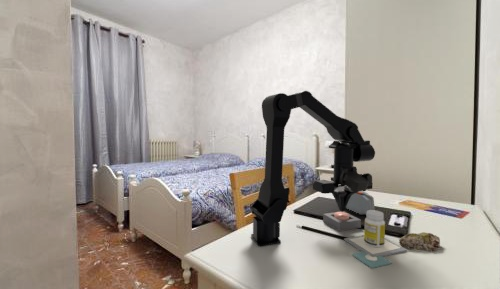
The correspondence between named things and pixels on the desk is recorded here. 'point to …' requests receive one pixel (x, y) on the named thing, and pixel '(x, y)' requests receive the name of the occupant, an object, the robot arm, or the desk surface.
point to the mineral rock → (420, 241)
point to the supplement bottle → (374, 228)
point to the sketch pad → (386, 250)
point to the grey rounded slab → (361, 202)
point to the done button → (341, 216)
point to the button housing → (342, 222)
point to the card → (371, 259)
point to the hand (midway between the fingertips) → (342, 211)
